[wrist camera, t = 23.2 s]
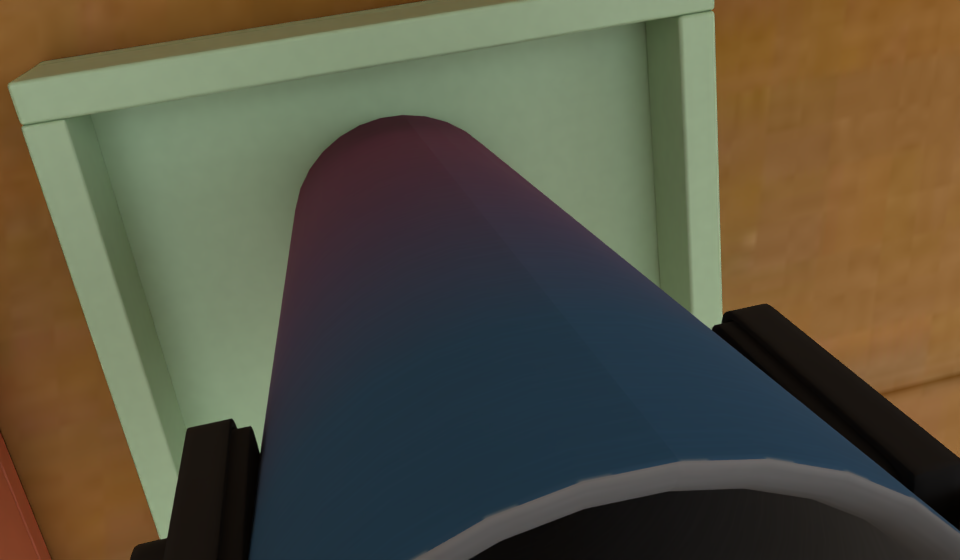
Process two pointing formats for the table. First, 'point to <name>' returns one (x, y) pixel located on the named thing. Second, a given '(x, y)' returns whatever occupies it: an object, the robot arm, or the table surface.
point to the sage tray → (314, 127)
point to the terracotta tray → (17, 517)
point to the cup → (527, 390)
